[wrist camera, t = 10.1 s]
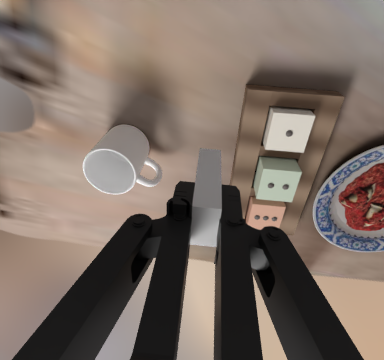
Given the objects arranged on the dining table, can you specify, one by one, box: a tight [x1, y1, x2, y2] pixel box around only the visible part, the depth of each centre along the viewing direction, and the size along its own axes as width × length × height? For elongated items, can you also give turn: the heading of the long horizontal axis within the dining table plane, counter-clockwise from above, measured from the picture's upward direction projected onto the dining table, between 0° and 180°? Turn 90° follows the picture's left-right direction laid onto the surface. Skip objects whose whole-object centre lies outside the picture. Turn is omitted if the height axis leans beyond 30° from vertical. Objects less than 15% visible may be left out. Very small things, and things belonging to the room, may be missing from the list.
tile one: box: [262, 105, 315, 153], centre depth 41 cm, size 6×6×4 cm
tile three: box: [245, 196, 286, 230], centre depth 51 cm, size 6×6×4 cm
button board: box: [230, 84, 345, 235], centre depth 47 cm, size 28×14×3 cm, turn 177°
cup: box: [83, 124, 162, 194], centre depth 45 cm, size 8×12×10 cm
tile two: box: [253, 156, 302, 202], centre depth 45 cm, size 6×6×4 cm
